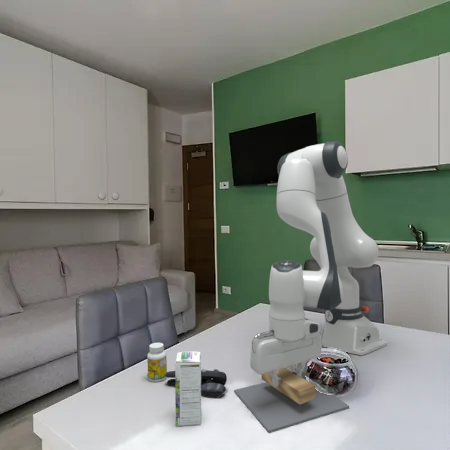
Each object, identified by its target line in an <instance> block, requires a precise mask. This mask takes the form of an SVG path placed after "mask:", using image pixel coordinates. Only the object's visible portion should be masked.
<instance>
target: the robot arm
mask: <svg viewBox="0 0 450 450" xmlns="http://www.w3.org/2000/svg"><path fill="white" fill-rule="evenodd" d="M348 163H349V159H348V153H347V150H346V148H345V146H344V145H343V144H342V143H341V142H339V141H326V142H324V143H317V144H314V145H313V144H312V145H309V146H305V147H303V148H301V149H297V150H295V151H293V152H288V153H286V154H284V155H283V156H281V157H280V159H279V160H278V163H277V174H278V181H277V186H276V187H277V188H276V201H275V202H276V212H277V215H278V216H279V218H280V219H281V220H282V221H283V222H284V223H285V224H287V225H289V226H290V227H293V228H294V229H298V230H301V231H304V232H306V233H308V234H310V235H312V237H313V238H312V239H311V241H310V245H309V251H310V254H311V256H312V257H313V258H314V260H315V261H316V262H317V264H318V266H319V267H320V269H319V270H303V266H302V264H301V263H300V262H298V261H294V260H290V259H289V260H280V261H277V262H274V263H273V264H272V265H271V268H270V273H269V280H268V300H269V305H270V307H269V313H268V330H267V331H264V332H259V333H257V334H256V335H255V336H254V337H253V338H252V340H251V351H250V359H249V360H250V361H249V365H250V368H251V369H252V371H253V372H255V373H256V374H257V375H261V376H262V374H265V373H268V372H269V373H270V375H271V377H272V384H273V385H274V386H275V387H277V386H280V385H281V378H279V377H278V376H277V375H276V374H277V373H278V369H281V368H285V369H286V368H288V367H292V366H295V365H296V366H295V368H294V370H292V373H294V374H296V375H298V376H299V377H301V378H302V373H303V371H304V368H305V367H306V362H308V361H310V360H314V359H317V358H320V356H321V354H322V350H323V349H322V346H323V347H324V348H326V347H333V348H337V349H341V350H343V351H346V352H348V353H347V354H354V355H358V356H364V355H366V354H369V353H372V352H374V351H377V350H378V349H380V348H384V347H386V346H387V343H388V342H387V341H386V340H385V339H384V338H382V337H380V333H379V328H378V326H377V325H376V324H375V323H373V322H372V321H371V320H370V319H369V318H367V317H366V316H365V315H364V313H366V314H367V313H369V311H370V308H369V306H365V305H362V306H361V305H360V284H359V282H358V280H357V279H356V278H354V276H353V275H352V274H351V273H350V270H349V268H354V269H360V268H362V269H363V268H370V267H372V266H373V265H374V264H375V263H376V262H377V260H378V257H379V246H378V244H377V242H376V240H375V239H373V238H372V237H370V236H369V235H368V234H367V233H365V232H364V231H363V229H362V228H361V226H360V225H359V224H358V222H357V220H356V219H355V217H354V214H353V211H352V207H351V203H350V200H349V195H348V191H347V186H346V182H345V179H344V176H343V174H344V173H345V172H346V170H347V168H348ZM304 308H316V309H317V310H324V311H323V312H324V319H325V321H324V329H323V334H321V333H320V332H321V327H322V325H321V324H320V323H319V322H317V321H315V320H312V319H310V318H306V315H305V314H306V313H305V309H304Z"/></svg>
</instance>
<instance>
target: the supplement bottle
mask: <svg viewBox="0 0 450 450" xmlns="http://www.w3.org/2000/svg"><path fill="white" fill-rule="evenodd" d="M148 347H149V348H148V349H149V352H148V353H147V357H146V359H147V379H148V380H149V381H150V382H151V383H160V382H162V381H165V380H166V379H167V377H166V376H165V375H166V373H167V372H168V367H167V366H168V365H167V363H168V362H167V361H168V360H167V359H168V358H167V352H166V350H164V347H165V346H164V343H162V342H153V343H150V344H149V346H148Z"/></svg>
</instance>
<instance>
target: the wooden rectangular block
mask: <svg viewBox="0 0 450 450" xmlns="http://www.w3.org/2000/svg"><path fill="white" fill-rule="evenodd" d="M276 375H277V376H278V377H279V378H281V385H280V386H277V387H275V386H274V385H273V384H272V377H271V375H270V373H269V372H268V373H265V374H261V380H262V381H264V383H265V382H267V383H268V384H270V385H271V386H273V387H274V388H276V389H277V390H279V391H280V392H282V393H283V394H285V395H286V396H288V397H289V398H291V399H292V400H294V401H295V402H297V403H298V404H302V403H305V402H307V401H309V400H312V399H314V398H315V385H314V384H312V383H310V382H308V381H307V380H305V379H303V378H301V377H299V376H298V375H296V374H294V373H293V371H290V370H289V369H287V368H286V367H285V368H281V369H278V373H277V374H276Z"/></svg>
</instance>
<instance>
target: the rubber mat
mask: <svg viewBox="0 0 450 450" xmlns="http://www.w3.org/2000/svg"><path fill="white" fill-rule="evenodd" d="M305 374H306V373H304V372H302V378H303V379H305V380H306V377H305ZM233 392H234V394H235V395H236V396H237V397H238V398H239V400H240V401H241V402H242V403H243V404H244V406H246V408H247V409H248V410H249V412H251V413H252V415H253V416H254V417H255V418H256V420H257V421H258V422H259V423H260V425H261V426H262V427H263V428H264V429H265V430H266V432H267V433H268V434H271V433H273V432H277V431H280V430H283V429H286V428H290V427H293V426H296V425H300V424H302V423H306V422H309V421H312V420H315V419H320V418H322V417H325V416H329V415H331V414H332V415H333V414H334V413H338V412H341V411H345V410H347V409H350V405H348V404H347V403H346V402H345V401H344V400H341V399H340V398H339V397H338V396H336V395H335V394H333V395H327V394H324V393H320V392H319V391H317V390H316V389H315V398H314V399H312V400H309V401H307V402H305V403H302V404H298V403H297V402H295V401H294V400H292V399H291V398H289V397H288V396H286V395H285V394H283V393H282V392H280V391H279V390H277V389H276V388H274V387H273V386H271V385H270V384H268V383H267V382H265V381H264V382H261V383H257V384H254V385H248V386H245V387H240V388H236V389H234V390H233Z"/></svg>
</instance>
